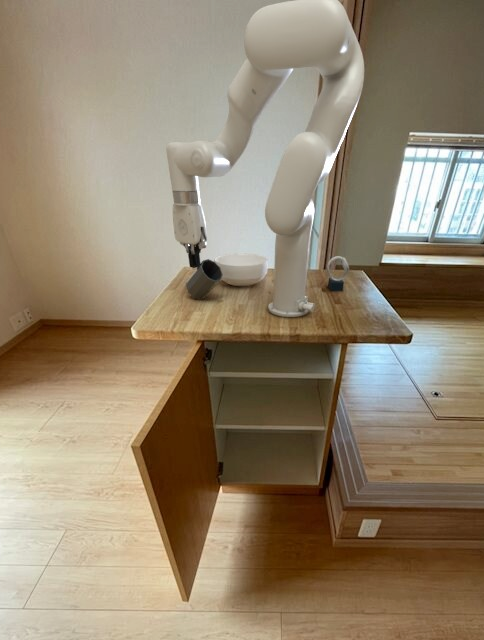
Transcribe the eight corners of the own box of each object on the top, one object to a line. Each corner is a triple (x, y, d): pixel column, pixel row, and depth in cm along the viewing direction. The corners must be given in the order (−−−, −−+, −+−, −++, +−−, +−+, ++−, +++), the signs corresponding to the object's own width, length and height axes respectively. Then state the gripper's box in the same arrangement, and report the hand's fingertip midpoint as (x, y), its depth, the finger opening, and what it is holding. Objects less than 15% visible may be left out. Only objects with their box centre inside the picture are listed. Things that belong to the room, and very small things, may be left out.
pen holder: (209, 295, 107) (226, 278, 99) (193, 301, 102) (209, 283, 94) (198, 276, 106) (214, 257, 98) (181, 281, 101) (196, 262, 93)
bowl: (244, 294, 108) (243, 269, 103) (205, 283, 118) (202, 259, 113) (277, 281, 121) (278, 258, 116) (239, 272, 130) (238, 250, 125)
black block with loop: (347, 291, 113) (353, 258, 106) (326, 291, 113) (330, 258, 106) (344, 286, 118) (349, 254, 111) (323, 286, 117) (326, 254, 111)
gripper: (159, 197, 90) (170, 265, 101) (194, 200, 82) (202, 273, 93) (180, 196, 94) (188, 261, 105) (215, 199, 87) (220, 268, 98)
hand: (195, 266), depth 99 cm, fingers closed
